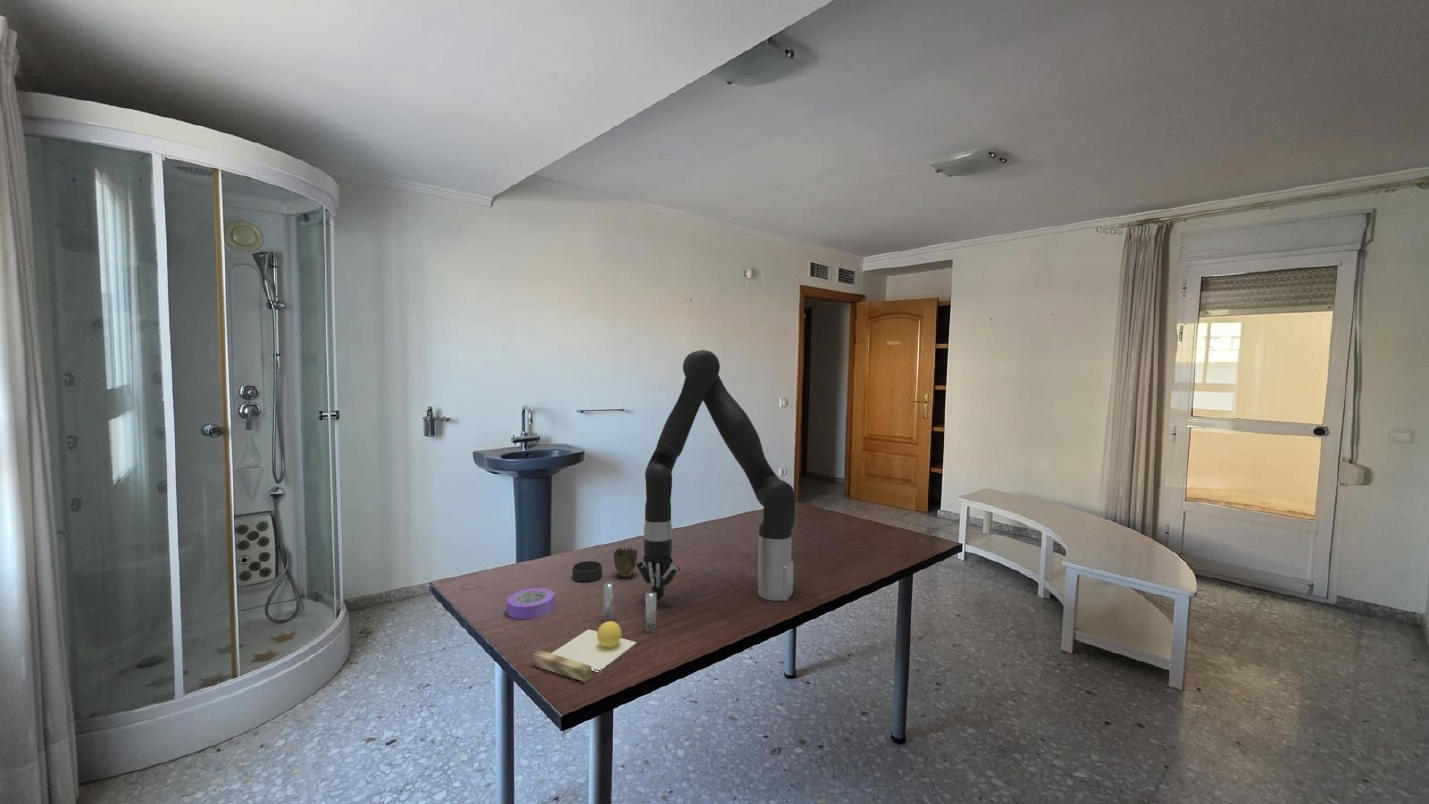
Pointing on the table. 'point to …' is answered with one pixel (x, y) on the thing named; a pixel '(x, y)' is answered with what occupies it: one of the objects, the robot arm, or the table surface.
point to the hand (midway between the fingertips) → (657, 599)
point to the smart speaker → (587, 571)
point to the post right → (650, 611)
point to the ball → (609, 634)
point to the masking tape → (530, 603)
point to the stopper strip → (561, 665)
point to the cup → (625, 561)
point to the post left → (609, 601)
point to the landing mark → (592, 650)
